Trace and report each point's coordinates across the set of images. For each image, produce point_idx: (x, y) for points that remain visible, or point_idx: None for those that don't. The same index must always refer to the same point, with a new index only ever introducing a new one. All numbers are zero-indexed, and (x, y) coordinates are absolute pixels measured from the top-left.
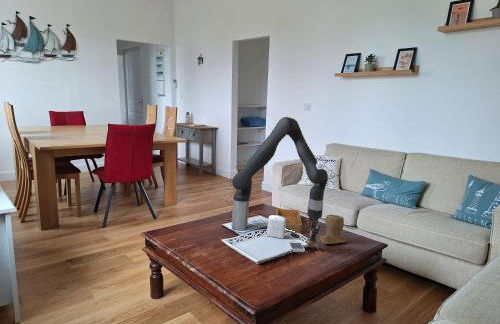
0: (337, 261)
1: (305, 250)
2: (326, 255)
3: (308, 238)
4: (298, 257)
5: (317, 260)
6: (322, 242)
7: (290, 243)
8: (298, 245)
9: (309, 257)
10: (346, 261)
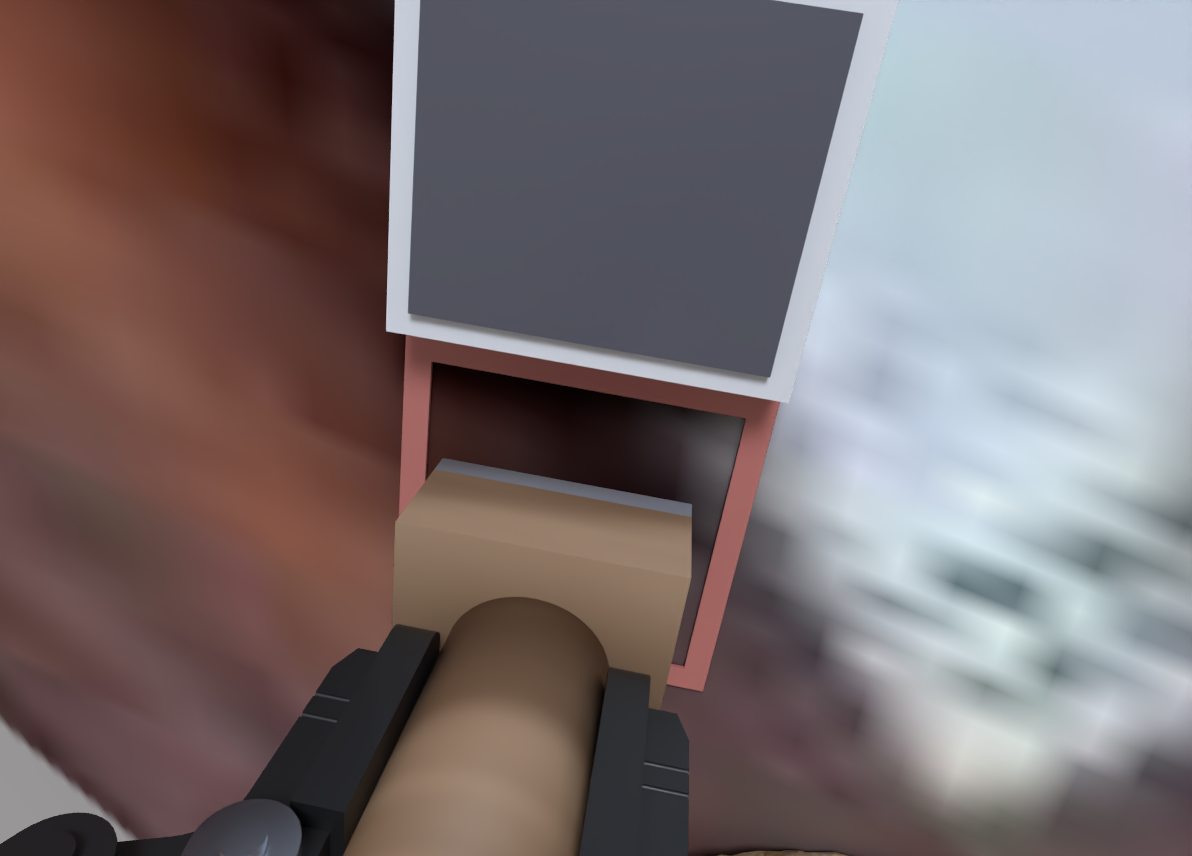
0: (86, 708)
1: (484, 368)
2: (286, 660)
3: (677, 632)
4: (101, 34)
5: (46, 416)
6: (837, 853)
7: (782, 24)
8: (604, 246)
9: (150, 312)
10: (114, 815)
